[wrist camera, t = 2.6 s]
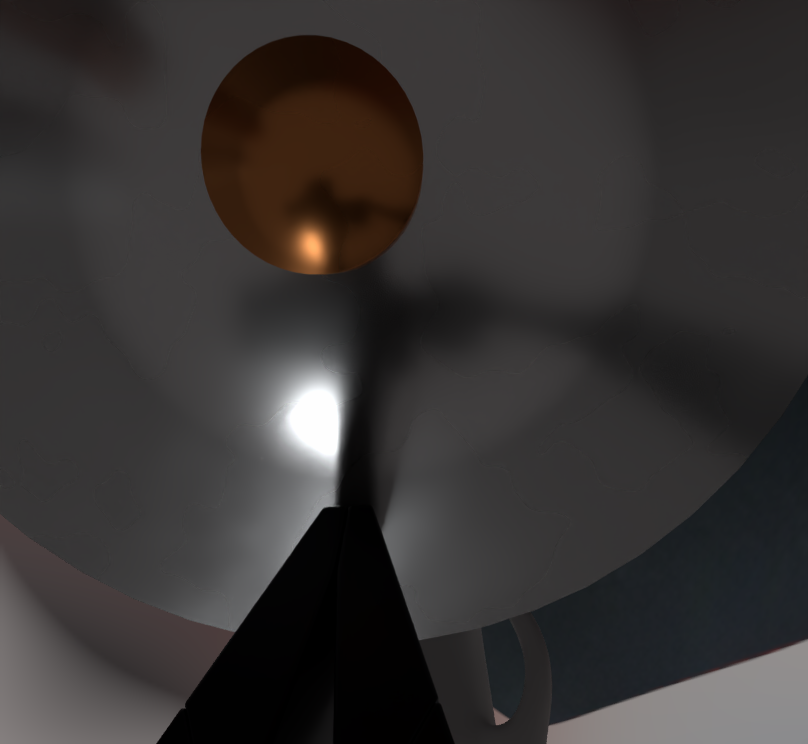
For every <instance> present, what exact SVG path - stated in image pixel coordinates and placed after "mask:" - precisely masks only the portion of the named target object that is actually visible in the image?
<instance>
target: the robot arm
mask: <svg viewBox="0 0 808 744" xmlns="http://www.w3.org/2000/svg"><path fill="white" fill-rule="evenodd" d="M185 707H186V709H181V710H180V711H179V712H178V714H177V715H176V717H175V718H174V719H173V721H172V722H171V724H170V725H169V727H168V728H167V730H166V731H165V732H164V734H163V735H162V736H161V738H160V739H159V741H158V742H157V743H156V744H455V743H454V740H453V737H452V735H451V732H450V729H449V726H448V723H447V720H446V717H445V714H444V711H443V708H442V705H441V704H440V703H439V699H438V694H437V692H436V689H435V686H434V683H433V680H432V677H431V674H430V671H429V668H428V665H427V662H426V659H425V656H424V654H423V651H422V648H421V645H420V642H419V639H418V636H417V633H416V630H415V627H414V624H413V621H412V618H411V615H410V613H409V610H408V607H407V604H406V601H405V598H404V595H403V592H402V589H401V586H400V583H399V580H398V577H397V575H396V572H395V569H394V566H393V563H392V560H391V557H390V554H389V551H388V548H387V545H386V542H385V539H384V537H383V534H382V531H381V528H380V525H379V522H378V519H377V516H376V513H375V510H374V508H373V506H372V505H371V504H359V505H351V506H350V507H349V508H348V507H347V506H346V505H333V506H326V507H324V508H323V509H322V510H321V511H320V513H319V514H318V516H317V517H316V518H315V520H314V521H313V523H312V524H311V525H310V527H309V528H308V530H307V531H306V533H305V534H304V535H303V537H302V538H301V540H300V541H299V543H298V544H297V545H296V547H295V548H294V550H293V551H292V552H291V554H290V555H289V557H288V558H287V560H286V561H285V562H284V564H283V565H282V567H281V568H280V569H279V571H278V572H277V574H276V575H275V577H274V578H273V579H272V581H271V582H270V584H269V585H268V586H267V588H266V589H265V591H264V592H263V594H262V595H261V596H260V598H259V599H258V601H257V602H256V603H255V605H254V606H253V608H252V609H251V611H250V612H249V613H248V615H247V616H246V618H245V619H244V620H243V622H242V623H241V625H240V626H239V628H238V629H237V630H236V632H235V633H234V635H233V636H232V638H231V639H230V640H229V642H228V643H227V645H226V646H225V647H224V649H223V650H222V652H221V653H220V655H219V656H218V657H217V659H216V660H215V662H214V663H213V665H212V666H211V667H210V669H209V670H208V672H207V673H206V674H205V676H204V677H203V679H202V680H201V681H200V683H199V684H198V686H197V687H196V689H195V690H194V691H193V693H192V694H191V696H190V697H189V699H188V700H187V701H186V703H185Z"/></svg>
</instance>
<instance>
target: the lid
mask: <svg viewBox="0 0 808 744" xmlns="http://www.w3.org/2000/svg"><path fill="white" fill-rule="evenodd" d="M807 375H808V0H0V514H1V515H2V516H3V517H4V518H6V519H7V520H8V521H9V522H11V523H12V524H13V525H14V526H16V527H17V528H18V529H19V530H20V531H22V532H23V533H24V534H25V535H26V536H28V537H29V538H30V539H32V540H34V541H35V542H36V543H38V544H39V545H41V546H43V547H44V548H46V549H47V550H49V551H50V552H52V553H53V554H55V555H56V556H58V557H59V558H61V559H62V560H64V561H65V562H67V563H68V564H70V565H72V566H73V567H74V568H76V569H78V570H79V571H81V572H83V573H84V574H86V575H88V576H90V577H93V578H94V579H96V580H98V581H100V582H102V583H104V584H106V585H108V586H110V587H112V588H114V589H116V590H118V591H120V592H122V593H124V594H125V595H127V596H129V597H131V598H133V599H136V600H138V601H141V602H143V603H146V604H149V605H151V606H154V607H157V608H159V609H162V610H164V611H167V612H170V613H172V614H175V615H178V616H180V617H183V618H186V619H188V620H191V621H195V622H199V623H202V624H206V625H210V626H214V627H218V628H222V629H225V630H229V631H233V632H236V630H237V629H238V628H239V626H240V625H241V623H242V622H243V620H244V619H245V618H246V616H247V615H248V613H249V612H250V611H251V609H252V608H253V606H254V605H255V603H256V602H257V601H258V599H259V598H260V596H261V595H262V594H263V592H264V591H265V589H266V588H267V586H268V585H269V584H270V582H271V581H272V579H273V578H274V577H275V575H276V574H277V572H278V571H279V569H280V568H281V567H282V565H283V564H284V562H285V561H286V560H287V558H288V557H289V555H290V554H291V552H292V551H293V550H294V548H295V547H296V545H297V544H298V543H299V541H300V540H301V538H302V537H303V535H304V534H305V533H306V531H307V530H308V528H309V527H310V525H311V524H312V523H313V521H314V520H315V518H316V517H317V516H318V514H319V513H320V511H321V510H322V509H323V508H324V507H326V506H333V505H346V506H347V507H348V508H349V507H350V506H351V505H359V504H371V505H372V506H373V508H374V510H375V513H376V516H377V519H378V522H379V525H380V528H381V531H382V534H383V537H384V539H385V542H386V545H387V548H388V551H389V554H390V557H391V560H392V563H393V566H394V569H395V572H396V575H397V577H398V580H399V583H400V586H401V589H402V592H403V595H404V598H405V601H406V604H407V607H408V610H409V613H410V615H411V618H412V621H413V624H414V627H415V630H416V633H417V636H418V639H419V640H424V639H429V638H434V637H439V636H444V635H449V634H454V633H459V632H464V631H469V630H474V629H478V628H481V627H484V626H488V625H491V624H494V623H497V622H500V621H503V620H506V619H509V618H512V617H516V616H519V615H522V614H525V613H528V612H531V611H534V610H536V609H538V608H541V607H543V606H545V605H547V604H549V603H552V602H554V601H556V600H558V599H560V598H563V597H565V596H567V595H569V594H571V593H574V592H576V591H578V590H580V589H582V588H585V587H587V586H589V585H591V584H592V583H594V582H595V581H597V580H599V579H600V578H602V577H604V576H605V575H607V574H609V573H610V572H612V571H614V570H615V569H617V568H619V567H620V566H622V565H624V564H625V563H627V562H629V561H630V560H632V559H634V558H635V557H637V556H639V555H640V554H642V553H643V552H644V551H646V550H647V549H648V548H650V547H651V546H652V545H654V544H655V543H656V542H657V541H659V540H660V539H661V538H663V537H664V536H665V535H666V534H668V533H669V532H670V531H672V530H673V529H674V528H676V527H677V526H678V525H679V524H681V523H682V522H683V521H685V520H686V519H687V518H688V517H690V516H691V515H692V514H693V513H694V512H695V511H696V510H697V509H698V508H699V507H700V506H701V505H702V504H703V503H704V502H705V501H707V500H708V499H709V498H710V497H711V496H712V495H713V494H714V493H715V492H716V491H717V490H718V489H719V488H720V487H721V486H722V485H723V484H724V483H725V482H726V481H727V480H728V479H729V478H730V477H731V476H732V475H733V474H734V473H735V472H736V471H737V470H738V469H739V468H740V467H741V466H742V464H743V463H744V462H745V461H746V459H747V458H748V457H749V456H750V454H751V453H752V452H753V451H754V449H755V448H756V447H757V446H758V445H759V443H760V442H761V441H762V440H763V438H764V437H765V436H766V435H767V433H768V432H769V431H770V430H771V429H772V427H773V426H774V425H775V424H776V422H777V421H778V420H779V419H780V417H781V416H782V415H783V413H784V411H785V410H786V408H787V407H788V405H789V403H790V402H791V400H792V399H793V397H794V396H795V394H796V392H797V391H798V389H799V388H800V386H801V385H802V383H803V381H804V380H805V378H806V377H807Z"/></svg>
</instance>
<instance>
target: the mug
mask: <svg viewBox="0 0 808 744" xmlns="http://www.w3.org/2000/svg"><path fill="white" fill-rule="evenodd" d="M509 620H510V621H511V623H512V625H513V627H514V629H515V631H516V633H517V636H518V638H519V641H520V644H521V647H522V651H523V655H524V661H525V684H524V690H523V694H522V698H521V701H520V704H519V706H518V708H517V710H516V712H515V713H514V715H513V716H512V718H511V719H510V720H508V721H507V722H505V723H504V724H501V725H496V724H495V718H494V711H493V705H492V698H491V692H490V686H489V679H488V673H487V666H486V660H485V653H484V646H483V640H482V633H481V628H478V629H474V630H469V631H464V632H459V633H454V634H449V635H444V636H439V637H434V638H429V639H424V640H419V642H420V645H421V648H422V651H423V654H424V656H425V659H426V662H427V665H428V668H429V671H430V674H431V677H432V680H433V683H434V686H435V689H436V692H437V694H438V699H439V703H440V704H441V705H442V708H443V711H444V714H445V717H446V720H447V723H448V726H449V729H450V732H451V735H452V737H453V740H454V743H455V744H546V742H547V733H548V726H549V719H550V710H551V697H552V676H551V665H550V660H549V655H548V651H547V647H546V644H545V641H544V638H543V635H542V633H541V631H540V628H539V626H538V624H537V622H536V621H535V619H534V617H533V615H532V614H531V612H528V613H525V614H522V615H519V616H516V617H512V618H509Z"/></svg>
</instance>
